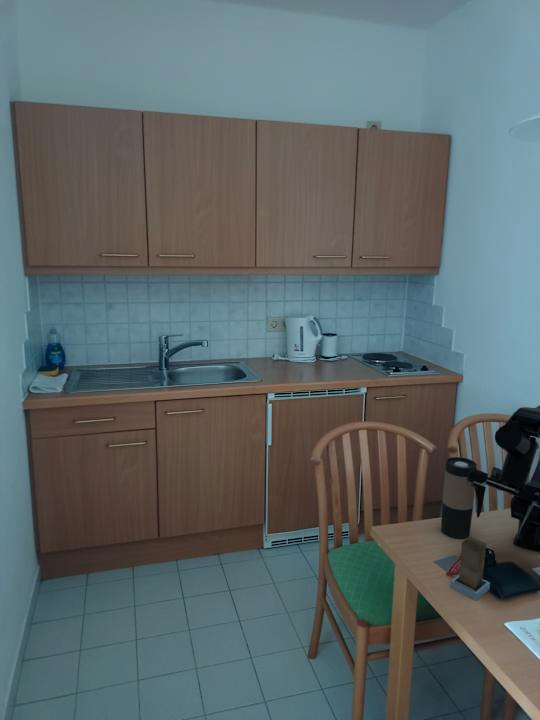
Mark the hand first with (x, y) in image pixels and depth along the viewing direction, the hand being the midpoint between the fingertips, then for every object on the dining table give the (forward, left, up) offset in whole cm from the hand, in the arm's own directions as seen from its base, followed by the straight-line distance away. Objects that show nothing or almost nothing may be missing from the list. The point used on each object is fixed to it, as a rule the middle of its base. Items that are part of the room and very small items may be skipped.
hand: (498, 525), depth 119 cm
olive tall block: (+9, -3, -12) cm, 15 cm away
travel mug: (-14, -12, -12) cm, 22 cm away
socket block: (+9, -3, -12) cm, 16 cm away
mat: (+2, -8, -12) cm, 15 cm away
